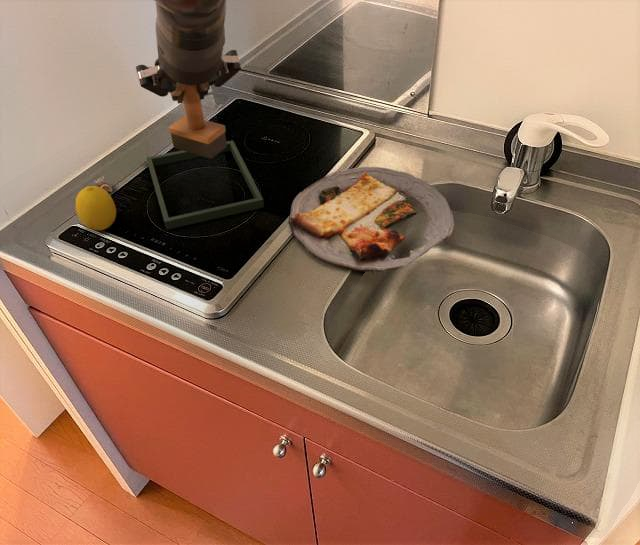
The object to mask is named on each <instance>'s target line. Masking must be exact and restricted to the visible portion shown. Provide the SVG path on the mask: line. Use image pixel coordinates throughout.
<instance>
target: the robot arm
mask: <svg viewBox="0 0 640 545" xmlns="http://www.w3.org/2000/svg"><path fill="white" fill-rule="evenodd" d="M153 1H154V2H155V10H156V11H155V12H156V18H155V20H156V21H155V40H156V48H157V49H156V50H157V58H156V59H155V60H154V65H153V66H151V65H149V66H148V65H145V64H138V65H137V66H135V70H136V74H137V78H138V81H139V85H140V87H141V88H143V89H144V90H147V91H149V92H151V93H153V94H155V95H157V96H158V97H163V98H165V97H167V96H168V95H169V93H170V97H171V99H172V101H173V102H177V104H184V103H183V92H182V91H184V90H185V87H186V85H190V86H195V85H198V89H199V95H200V100H205V96H208V94H209V91H210V89H211V87H212V86H214V87H215V88H220V87H222V86H223V85H225V84H226V83H228V82H229V80H231V79H232V78H233V77H234V76H235V75H237V74H238V73H239V72H240V71H241V70H242V66H241V63H240V58H239V55H238V51H237V50H236V49H231V50H229V51H227V52H226V53H225V54H223V51H224V46H225V43H226V30H225V29H226V28H225V21H226V15H227V0H153Z"/></svg>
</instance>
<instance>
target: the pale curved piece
mask: <svg viewBox="0 0 640 545" xmlns="http://www.w3.org/2000/svg"><path fill="white" fill-rule="evenodd" d="M104 179H105V176H101V177H99V178H98V179H97V180H96V179H94V180H93V181H94V183H96V185H95V186H97V187H100V188H102V189H104V190H106V191H107V192H108V193H111V192H113V187H112V186H111V185H110V184H109V183H106V182H104Z"/></svg>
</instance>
